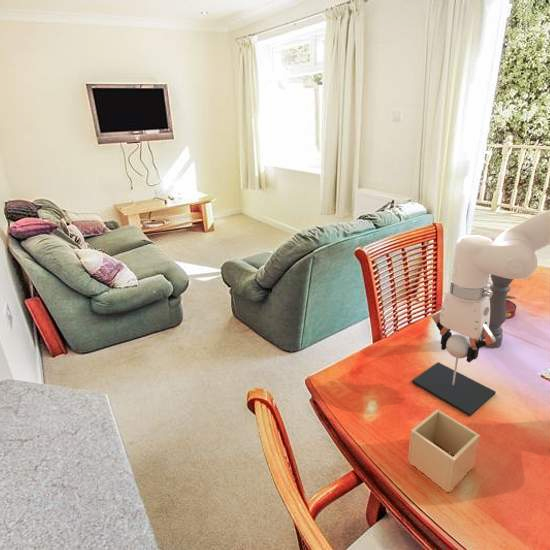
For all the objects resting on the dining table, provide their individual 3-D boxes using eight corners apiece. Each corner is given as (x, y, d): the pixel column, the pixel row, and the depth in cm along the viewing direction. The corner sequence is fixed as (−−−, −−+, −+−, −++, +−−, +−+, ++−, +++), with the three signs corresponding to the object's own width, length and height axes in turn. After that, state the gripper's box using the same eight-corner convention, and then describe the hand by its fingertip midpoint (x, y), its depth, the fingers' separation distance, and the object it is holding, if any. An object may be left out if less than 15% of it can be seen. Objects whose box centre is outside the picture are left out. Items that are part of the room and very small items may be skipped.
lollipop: (441, 374, 101) (448, 327, 95) (465, 379, 99) (474, 331, 93) (439, 389, 96) (446, 340, 90) (465, 395, 94) (474, 345, 88)
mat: (495, 393, 95) (495, 391, 95) (469, 416, 89) (470, 414, 88) (437, 364, 107) (438, 361, 107) (411, 382, 101) (412, 380, 101)
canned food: (483, 325, 131) (471, 300, 131) (494, 311, 137) (483, 287, 136) (517, 323, 122) (505, 296, 121) (527, 308, 128) (516, 282, 127)
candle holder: (476, 344, 114) (489, 269, 104) (479, 334, 119) (492, 261, 109) (499, 350, 111) (515, 273, 101) (502, 339, 115) (517, 265, 105)
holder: (473, 467, 77) (480, 435, 73) (448, 493, 72) (454, 460, 68) (433, 439, 84) (437, 408, 80) (407, 461, 79) (410, 430, 75)
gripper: (515, 296, 82) (501, 363, 89) (442, 273, 95) (435, 333, 102) (498, 308, 78) (485, 377, 85) (425, 282, 91) (418, 344, 98)
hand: (458, 353), depth 93 cm, fingers closed on lollipop, 6 cm apart
